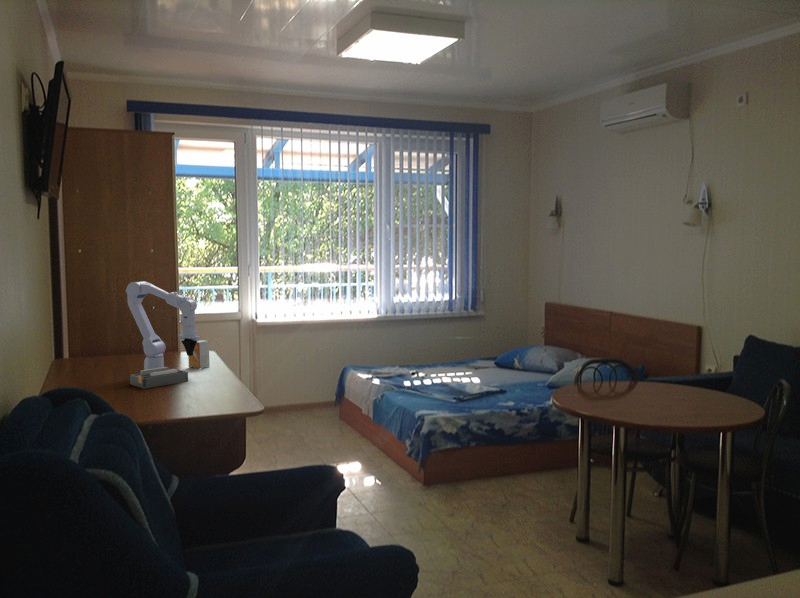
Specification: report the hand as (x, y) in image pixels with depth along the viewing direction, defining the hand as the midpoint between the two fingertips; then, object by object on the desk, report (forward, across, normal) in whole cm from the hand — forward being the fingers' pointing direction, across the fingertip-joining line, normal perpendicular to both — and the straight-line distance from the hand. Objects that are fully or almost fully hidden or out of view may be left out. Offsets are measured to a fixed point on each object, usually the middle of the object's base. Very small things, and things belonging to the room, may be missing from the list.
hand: (190, 355), depth 308 cm
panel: (+9, +7, -18) cm, 21 cm away
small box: (+10, -17, +16) cm, 25 cm away
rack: (+9, +2, -17) cm, 20 cm away
